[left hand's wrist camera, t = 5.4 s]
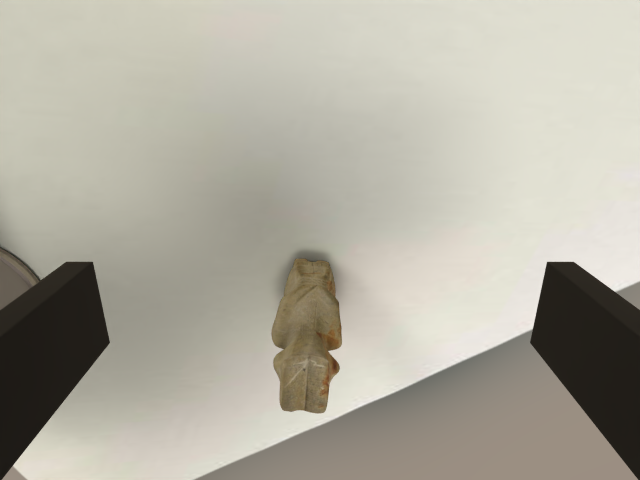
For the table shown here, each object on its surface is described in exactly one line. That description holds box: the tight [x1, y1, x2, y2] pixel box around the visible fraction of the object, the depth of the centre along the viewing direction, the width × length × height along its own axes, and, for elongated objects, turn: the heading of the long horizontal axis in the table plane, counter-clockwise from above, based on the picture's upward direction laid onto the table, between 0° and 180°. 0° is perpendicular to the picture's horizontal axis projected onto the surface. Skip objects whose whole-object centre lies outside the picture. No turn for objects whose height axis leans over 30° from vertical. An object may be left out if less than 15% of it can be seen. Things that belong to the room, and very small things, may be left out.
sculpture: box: [272, 259, 342, 413], centre depth 36 cm, size 6×7×15 cm
